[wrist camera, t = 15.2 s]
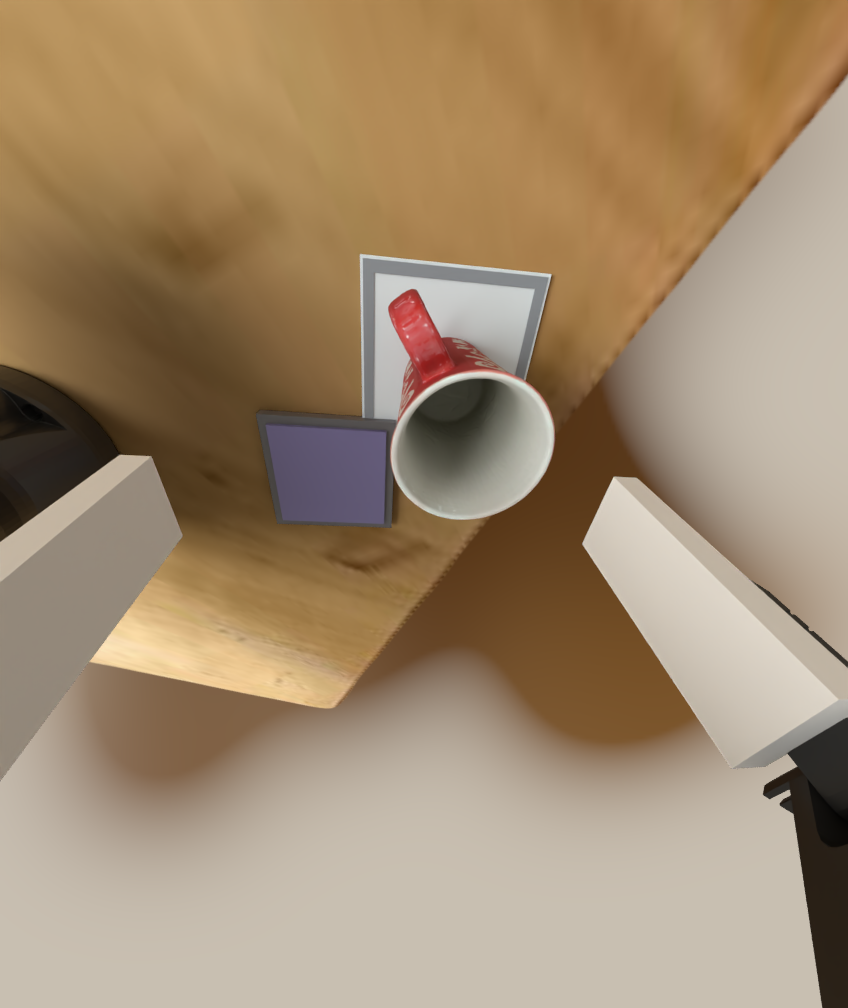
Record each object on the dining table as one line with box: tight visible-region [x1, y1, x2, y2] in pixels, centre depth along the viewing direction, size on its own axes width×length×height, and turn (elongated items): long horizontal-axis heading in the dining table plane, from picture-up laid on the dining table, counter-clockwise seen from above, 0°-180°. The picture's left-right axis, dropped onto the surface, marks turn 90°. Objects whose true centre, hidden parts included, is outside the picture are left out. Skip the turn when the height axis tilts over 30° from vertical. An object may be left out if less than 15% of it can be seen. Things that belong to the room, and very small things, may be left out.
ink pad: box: [256, 410, 396, 528], centre depth 34 cm, size 12×12×1 cm
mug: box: [388, 289, 555, 520], centre depth 23 cm, size 13×9×14 cm
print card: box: [360, 254, 552, 425], centre depth 29 cm, size 14×14×1 cm
